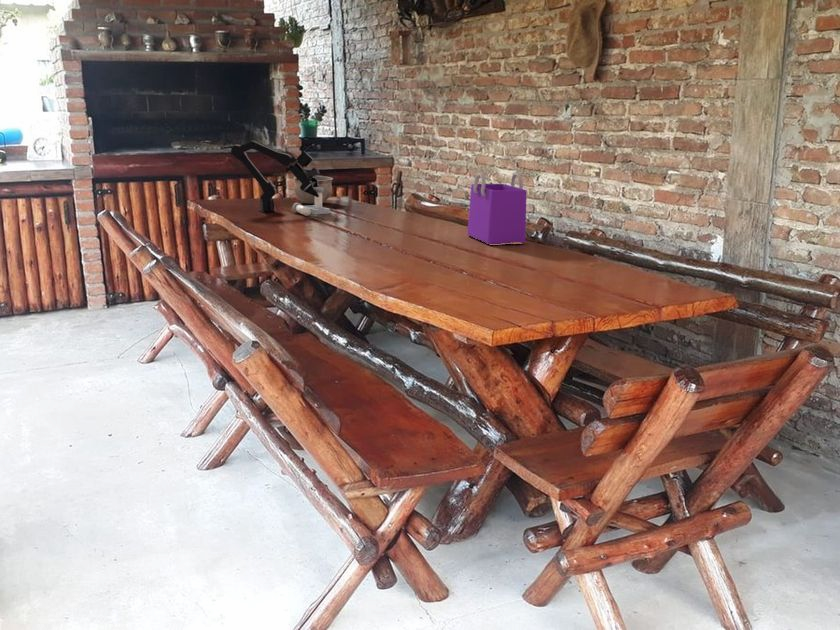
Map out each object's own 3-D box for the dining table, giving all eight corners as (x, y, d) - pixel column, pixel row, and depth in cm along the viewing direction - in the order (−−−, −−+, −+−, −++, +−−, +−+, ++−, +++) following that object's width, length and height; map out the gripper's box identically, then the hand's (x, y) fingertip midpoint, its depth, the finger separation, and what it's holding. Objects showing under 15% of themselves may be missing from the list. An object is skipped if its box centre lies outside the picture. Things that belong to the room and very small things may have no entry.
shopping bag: (457, 237, 372) (460, 170, 364) (497, 234, 383) (500, 169, 375) (493, 247, 349) (497, 176, 341) (534, 244, 359) (539, 175, 352)
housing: (330, 213, 433) (330, 208, 433) (315, 214, 428) (315, 209, 427) (313, 209, 445) (313, 205, 445) (299, 210, 440) (299, 206, 439)
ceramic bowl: (319, 200, 485) (319, 174, 481) (340, 204, 468) (340, 178, 465) (286, 202, 471) (286, 176, 467) (307, 207, 455) (306, 179, 451)
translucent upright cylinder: (318, 212, 430) (318, 188, 427) (311, 211, 433) (311, 187, 430) (325, 211, 434) (325, 188, 431) (318, 210, 437) (318, 187, 434)
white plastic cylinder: (306, 219, 423) (313, 211, 424) (300, 212, 420) (307, 204, 421) (296, 214, 433) (303, 207, 434) (290, 207, 430) (297, 200, 431)
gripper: (306, 164, 418) (327, 187, 420) (314, 161, 436) (334, 183, 438) (291, 179, 421) (312, 201, 423) (299, 175, 439) (320, 197, 441)
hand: (320, 195), depth 431 cm, fingers open, 9 cm apart
